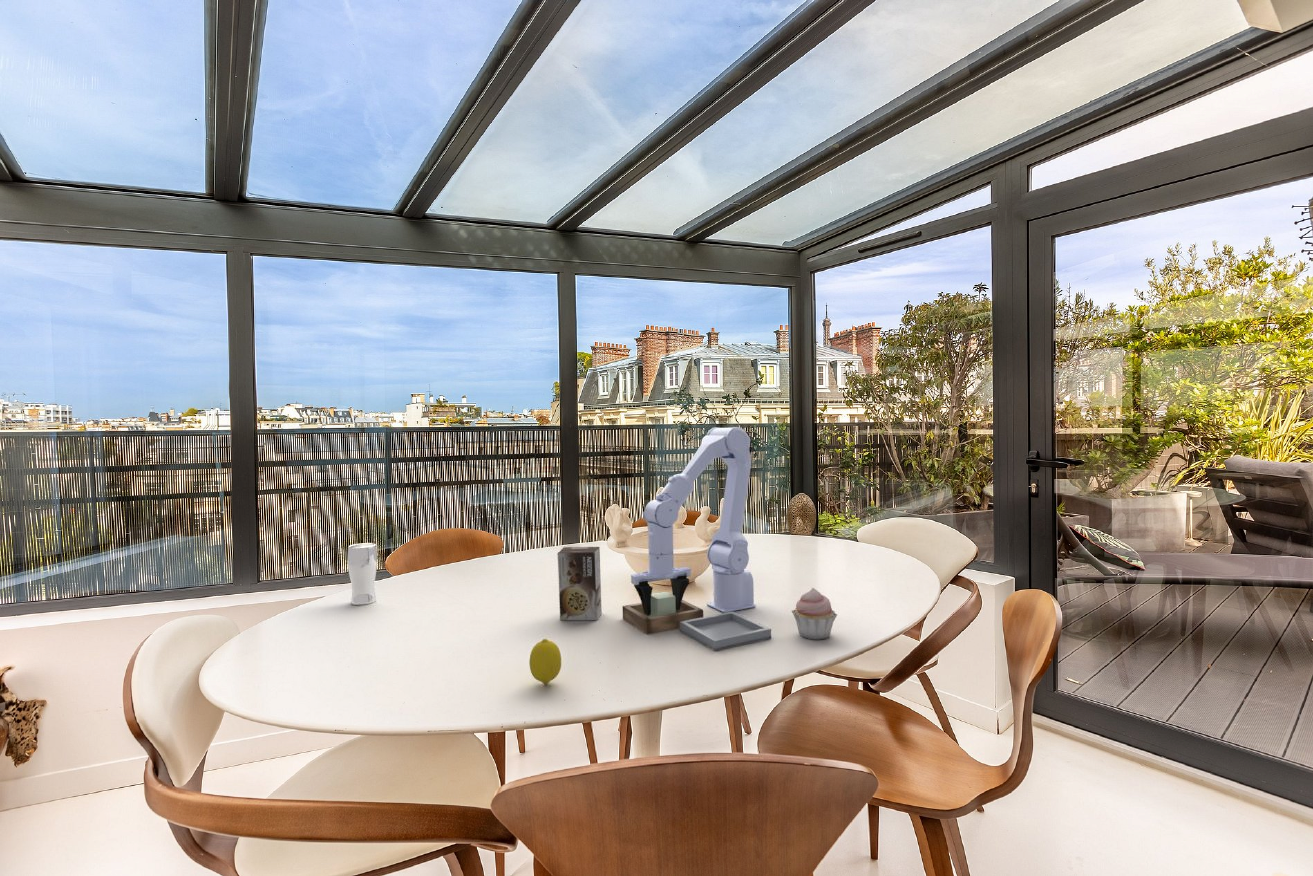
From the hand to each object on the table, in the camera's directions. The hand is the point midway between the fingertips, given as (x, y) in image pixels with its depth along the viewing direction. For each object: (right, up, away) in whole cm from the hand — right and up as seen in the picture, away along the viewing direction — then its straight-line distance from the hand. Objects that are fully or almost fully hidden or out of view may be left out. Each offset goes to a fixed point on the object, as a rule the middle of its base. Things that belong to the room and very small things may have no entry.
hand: (662, 611), depth 142 cm
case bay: (0, -2, 0) cm, 2 cm away
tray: (+13, -2, -10) cm, 17 cm away
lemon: (-21, -4, -33) cm, 40 cm away
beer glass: (-79, -4, +21) cm, 81 cm away
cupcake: (+32, -2, -11) cm, 34 cm away
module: (0, -2, 0) cm, 2 cm away
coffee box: (-19, -3, +5) cm, 20 cm away
